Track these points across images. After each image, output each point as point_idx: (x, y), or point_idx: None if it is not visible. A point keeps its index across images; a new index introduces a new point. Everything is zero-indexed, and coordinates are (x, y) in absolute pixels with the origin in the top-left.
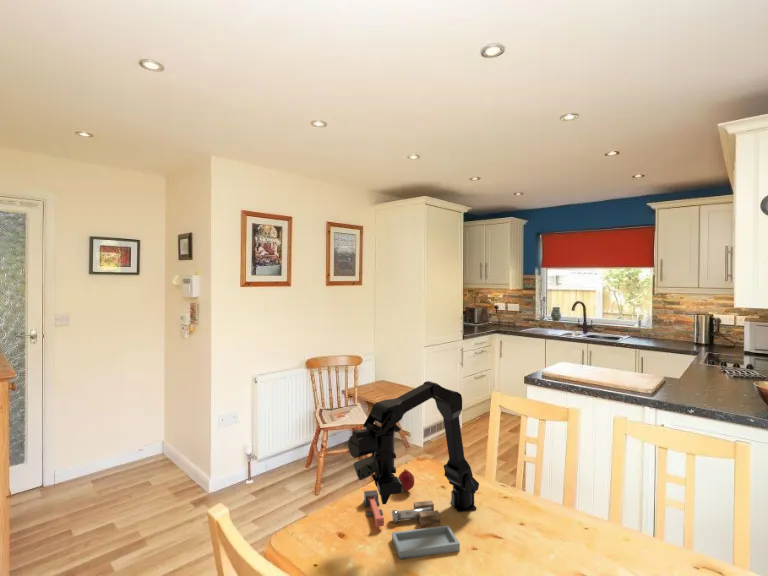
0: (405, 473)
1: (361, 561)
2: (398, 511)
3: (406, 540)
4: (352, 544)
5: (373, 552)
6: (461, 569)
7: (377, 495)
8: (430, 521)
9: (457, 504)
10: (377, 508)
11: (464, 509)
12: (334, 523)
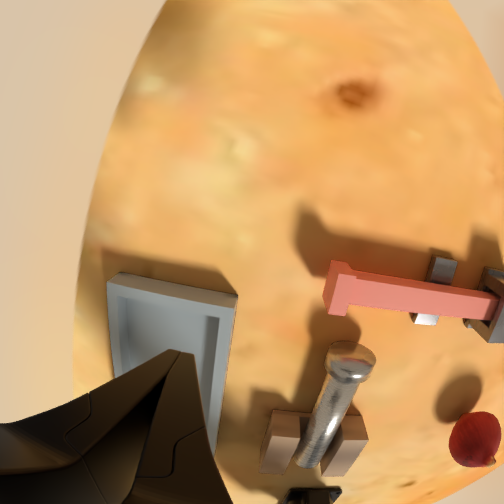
0: (482, 457)
1: (149, 128)
2: (350, 385)
3: (201, 339)
4: (269, 117)
5: (183, 190)
6: (73, 389)
7: (487, 337)
8: (266, 439)
9: (302, 500)
10: (426, 311)
11: (286, 498)
12: (440, 102)
